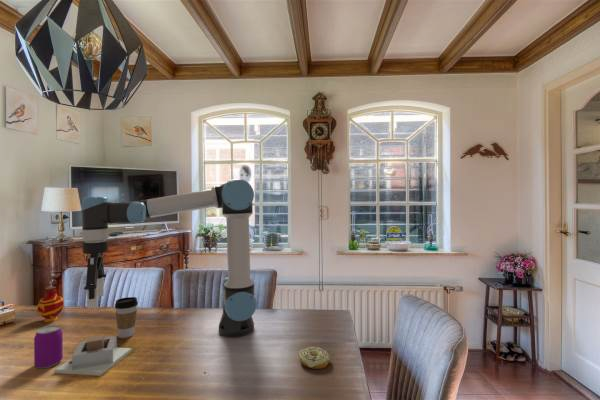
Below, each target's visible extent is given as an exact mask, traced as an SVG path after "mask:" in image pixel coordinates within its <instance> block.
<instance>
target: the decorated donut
mask: <svg viewBox="0 0 600 400" xmlns="http://www.w3.org/2000/svg"><path fill="white" fill-rule="evenodd" d="M329 354H330V353H328V351H327V350H326V349H324V348H321V347H316V346H308V347H305V348H303V349H301V350H300V351H299V354H298V358H299V362H300V363H301V364H302V365H303V366H304V367H306V368H307V369H308V368H309V369H312V370H321V369H325V368H326V367H327V366H328V365H329V363H330V359H331V358H330V355H329Z"/></svg>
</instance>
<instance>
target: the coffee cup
mask: <svg viewBox="0 0 600 400" xmlns="http://www.w3.org/2000/svg"><path fill="white" fill-rule="evenodd" d="M137 307H138V299H137V297H135V296H131V297H130V296H128V297H122V298H119V299H116V300H115V304H114V309H115V316H116V317H115V319H116V326H117V327H116V329H117V338H118V337H119V338H120V339H126V338H130V337H132V336H134V335H135V331H136V329H135V328H136V321H137V319H136V318H137V312H138V308H137Z"/></svg>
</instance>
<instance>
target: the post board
mask: <svg viewBox="0 0 600 400" xmlns="http://www.w3.org/2000/svg"><path fill="white" fill-rule="evenodd" d="M104 338H105V334H98V335H92V336H88V338H87V339H86V340H87V351H91V350H97V349H103V348H104ZM132 351H133V349H132V348H131V347H118V346H117V349H116V353H115V357H114V360H113V363H107V364H102V365H97V366H91V367H86V368H80V369H75V370H72V358H70V359H69V360H67V361H65V362H64V363H62V364H60V365H59V366H57V367H56V368H54V373H55V374H68V375H81V376H97V377H101V376H102V375H103V374H105V373H106V372H108V371H109V370H110V369H111V368H113V367H114V366H116V364H118V363H119V362H120V361H122V360H123V359H124V358H125V357H127V356H128V355H129V354H130V353H132Z"/></svg>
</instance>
